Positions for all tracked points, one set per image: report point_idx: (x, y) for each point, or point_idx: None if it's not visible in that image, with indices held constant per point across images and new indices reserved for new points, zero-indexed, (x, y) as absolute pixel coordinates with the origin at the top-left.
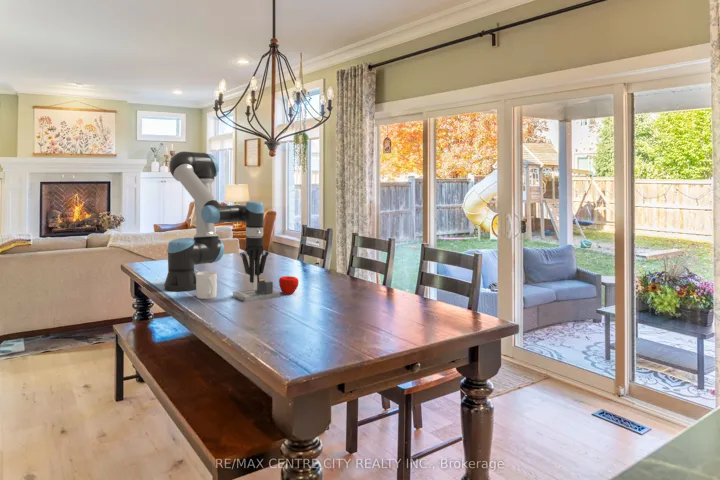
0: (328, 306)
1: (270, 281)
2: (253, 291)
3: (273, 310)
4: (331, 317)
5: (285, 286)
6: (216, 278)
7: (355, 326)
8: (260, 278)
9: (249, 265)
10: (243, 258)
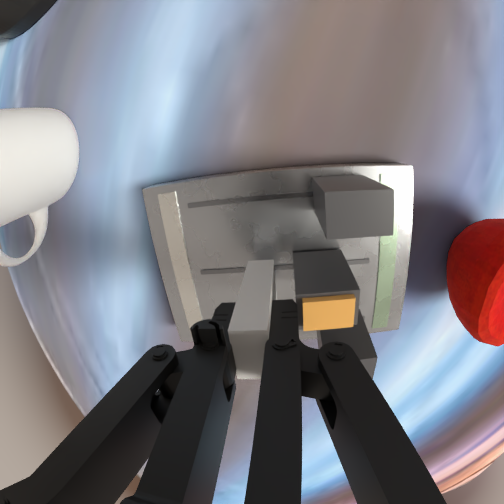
0: (411, 441)
1: (371, 363)
2: (275, 230)
3: (253, 439)
4: (341, 483)
5: (457, 315)
6: (2, 196)
7: (334, 501)
8: (374, 214)
9: (164, 426)
10: (53, 491)
